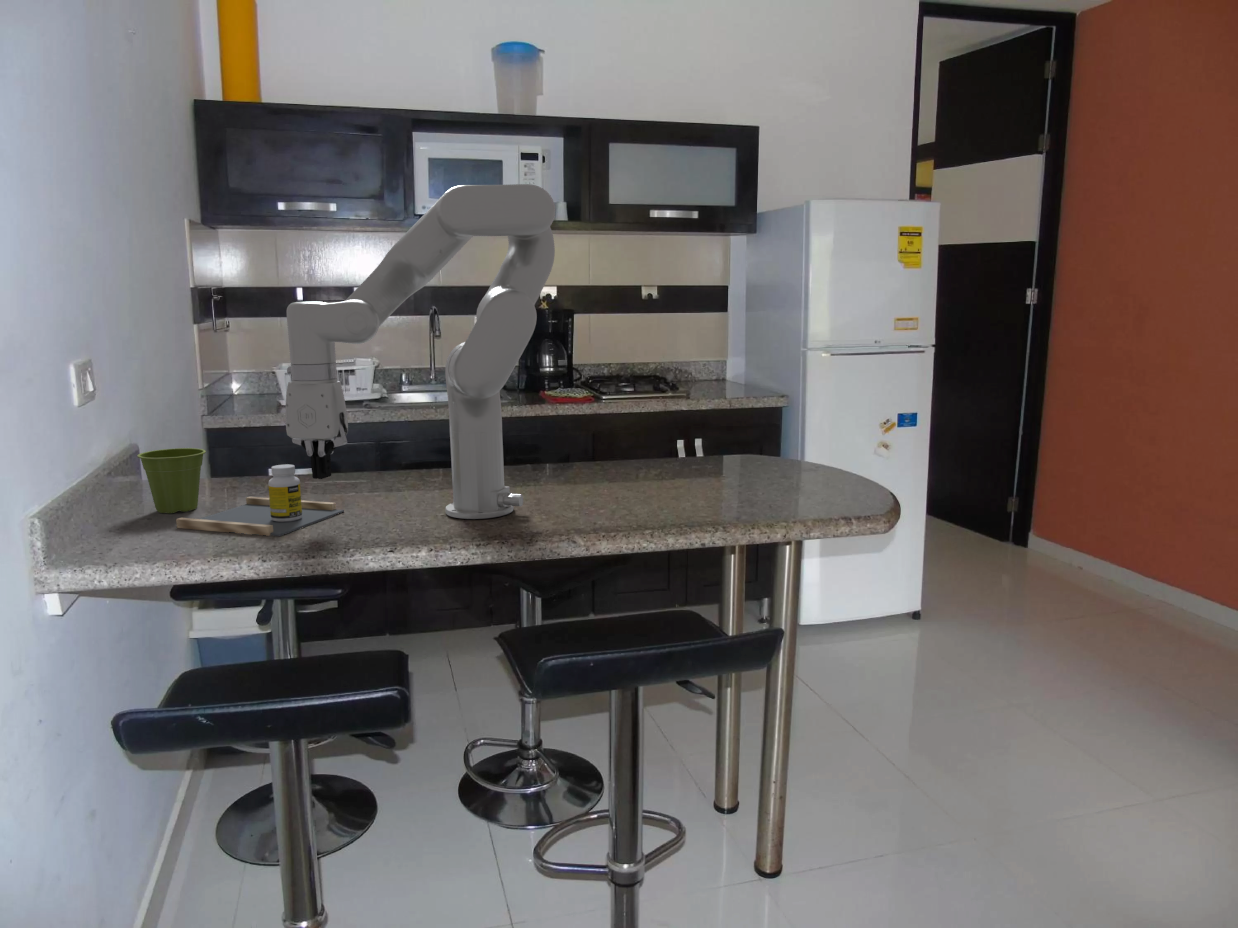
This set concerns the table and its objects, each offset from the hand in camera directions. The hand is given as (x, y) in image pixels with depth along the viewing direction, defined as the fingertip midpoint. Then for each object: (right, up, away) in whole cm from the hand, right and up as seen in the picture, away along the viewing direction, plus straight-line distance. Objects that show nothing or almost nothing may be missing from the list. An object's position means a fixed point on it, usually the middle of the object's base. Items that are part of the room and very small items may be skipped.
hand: (322, 477), depth 163 cm
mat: (-13, -8, +6) cm, 16 cm away
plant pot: (-33, -7, +15) cm, 37 cm away
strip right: (-11, -6, +15) cm, 19 cm away
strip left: (-17, -9, -2) cm, 19 cm away
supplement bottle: (-8, -8, +4) cm, 12 cm away
